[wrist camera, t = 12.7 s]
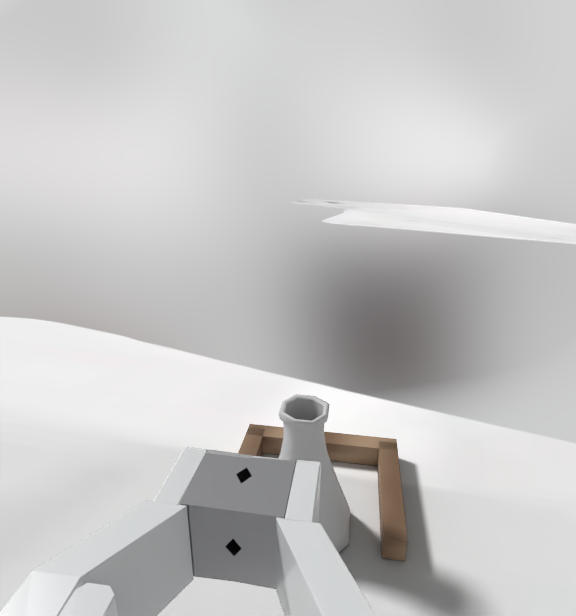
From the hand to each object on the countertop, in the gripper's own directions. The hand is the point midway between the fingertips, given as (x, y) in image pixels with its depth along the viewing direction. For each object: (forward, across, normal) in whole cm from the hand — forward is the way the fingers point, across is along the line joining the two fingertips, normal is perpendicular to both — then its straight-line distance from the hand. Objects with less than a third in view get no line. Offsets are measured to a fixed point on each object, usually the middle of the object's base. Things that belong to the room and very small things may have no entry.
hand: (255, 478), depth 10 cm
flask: (+16, -1, -19) cm, 25 cm away
